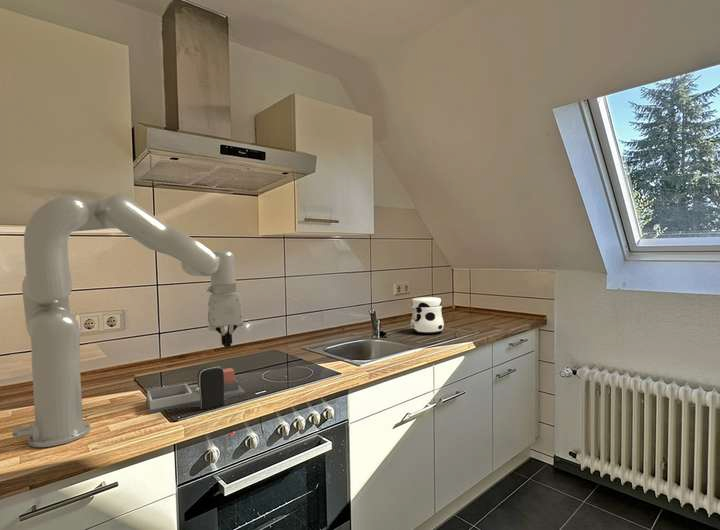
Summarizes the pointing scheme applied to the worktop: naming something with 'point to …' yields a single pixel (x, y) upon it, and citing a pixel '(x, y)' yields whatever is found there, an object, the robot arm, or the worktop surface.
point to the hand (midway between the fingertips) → (227, 346)
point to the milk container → (427, 315)
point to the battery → (211, 387)
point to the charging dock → (183, 396)
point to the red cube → (229, 375)
